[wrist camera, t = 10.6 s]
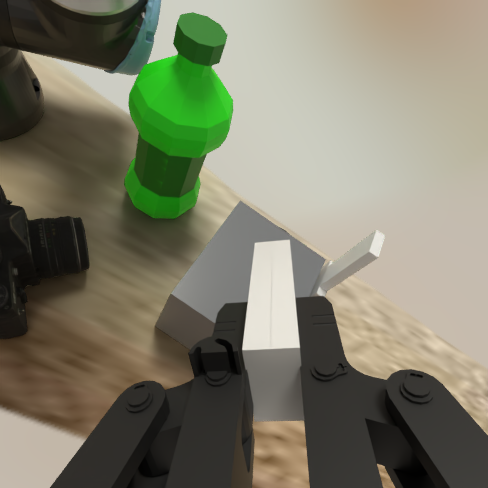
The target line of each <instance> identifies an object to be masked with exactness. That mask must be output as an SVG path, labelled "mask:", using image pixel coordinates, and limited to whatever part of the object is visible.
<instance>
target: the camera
mask: <svg viewBox="0 0 488 488" xmlns="http://www.w3.org/2000/svg"><path fill="white" fill-rule="evenodd" d="M11 203H12V201H9V200H7V199H6V196H5V194H4V191H3V189H2V188H1V186H0V339H8V338H13V337H17V336H21V335H23V334H25V333H26V332H27V321H26V312H25V303H27V302H28V301H27V296H26V293H25V291H24V289H25V287H26V286H28V285H32V286H34V285H38V284H39V283H40V281H39V280H40V279H42V278H52V277H55V276H61V275H64V274H72V273H78V272H80V271H84V270H87V269H89V257H88V248H87V242H86V236H85V230H84V226H83V223H82V220H81V218H73V217H69V216H67V217H59V218H56V219H54V218H46V219H43V218H41V219H36V220H28V219H27V215H26V213H25V210H24V209H23V207H20V206H15V205H10V204H11Z"/></svg>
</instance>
